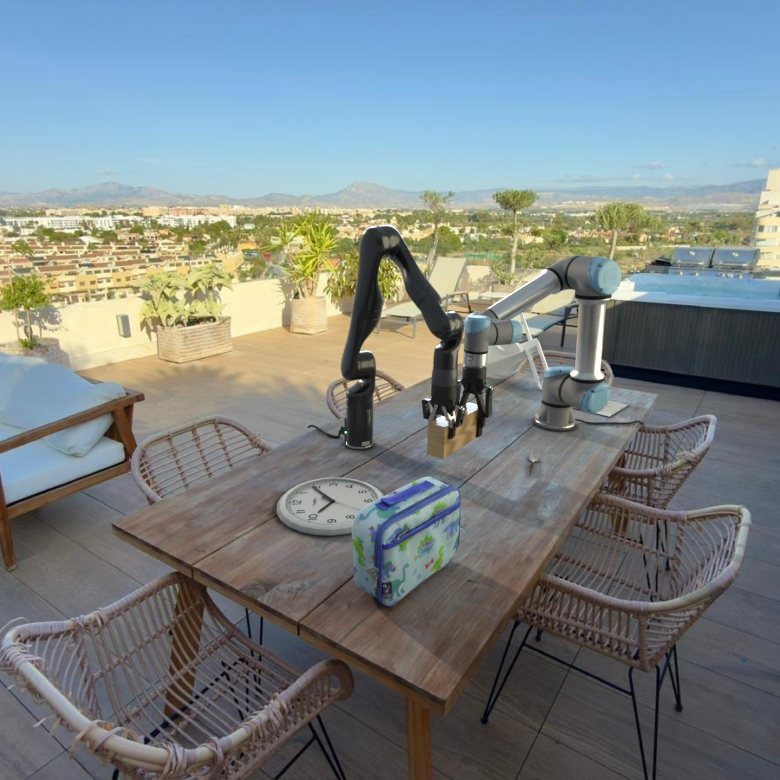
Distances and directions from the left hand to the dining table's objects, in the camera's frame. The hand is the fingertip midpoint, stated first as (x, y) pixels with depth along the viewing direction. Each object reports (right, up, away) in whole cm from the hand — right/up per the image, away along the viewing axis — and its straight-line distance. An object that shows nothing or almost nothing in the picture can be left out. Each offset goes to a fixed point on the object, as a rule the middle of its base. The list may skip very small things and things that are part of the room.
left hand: (441, 435), depth 156 cm
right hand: (+11, -1, +16) cm, 19 cm away
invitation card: (+76, +6, +70) cm, 104 cm away
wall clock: (-31, -18, -13) cm, 38 cm away
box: (+5, -3, +9) cm, 11 cm away
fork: (+31, -11, +13) cm, 35 cm away
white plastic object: (+42, +17, +102) cm, 112 cm away
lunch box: (-12, -27, -42) cm, 51 cm away
